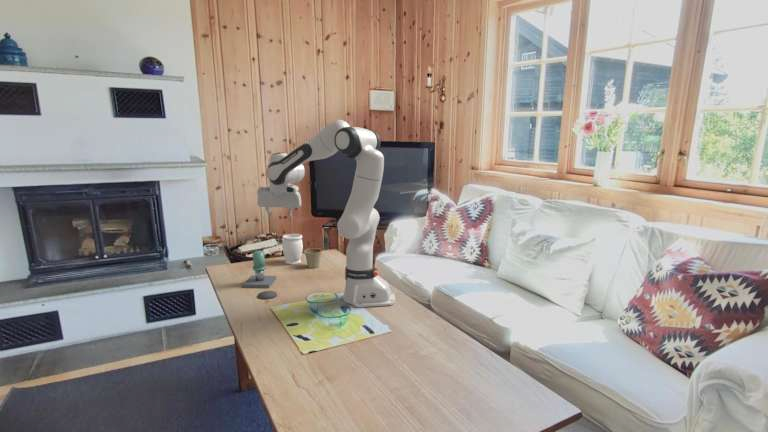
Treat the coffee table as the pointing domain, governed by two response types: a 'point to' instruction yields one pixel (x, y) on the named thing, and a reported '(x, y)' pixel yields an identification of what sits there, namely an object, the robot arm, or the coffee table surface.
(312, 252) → the flower pot
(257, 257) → the cap
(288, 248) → the jar
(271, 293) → the pad
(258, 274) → the grey rounded piece
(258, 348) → the coffee table surface
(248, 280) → the post slab
